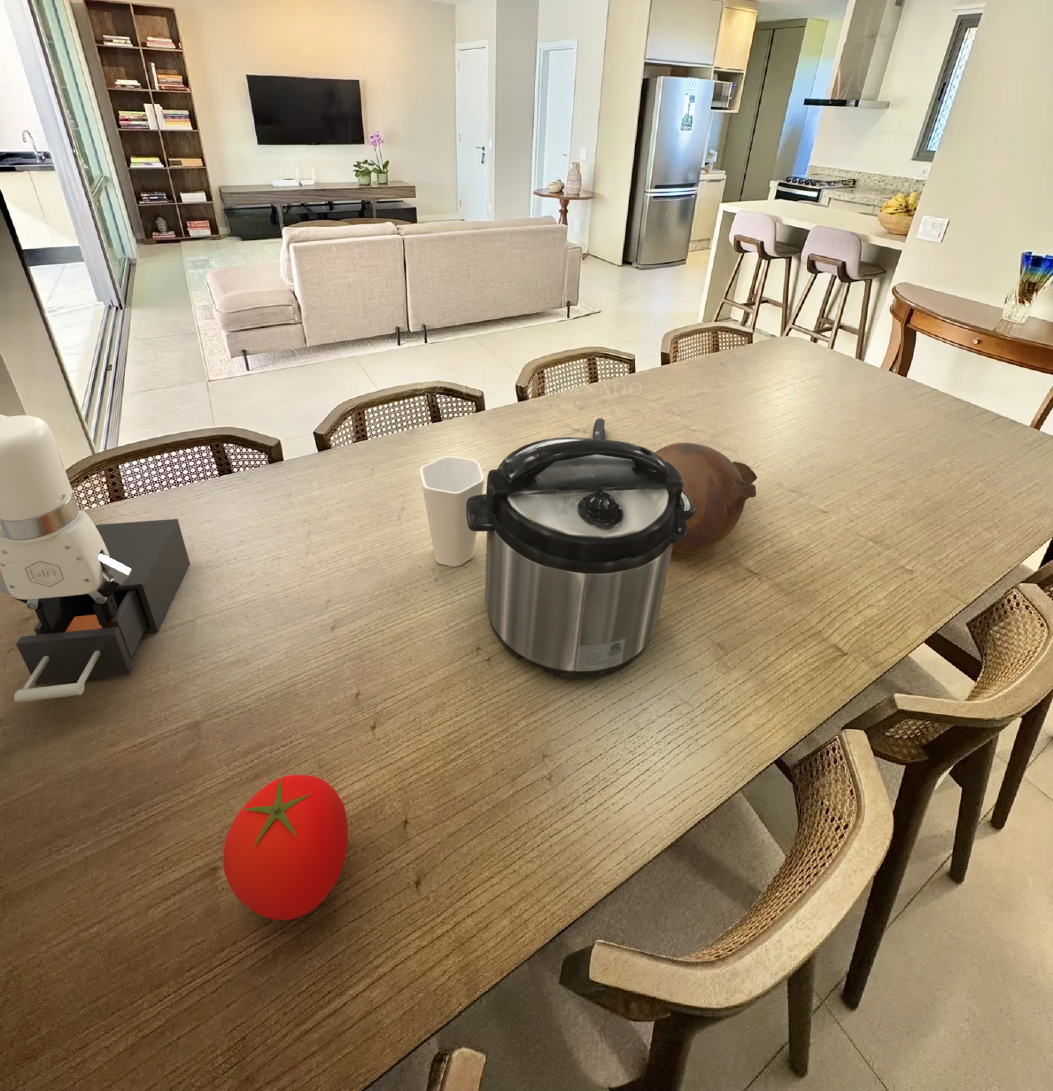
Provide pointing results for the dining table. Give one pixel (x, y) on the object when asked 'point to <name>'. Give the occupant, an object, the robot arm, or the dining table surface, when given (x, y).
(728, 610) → the dining table surface
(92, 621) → the block
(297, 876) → the tomato
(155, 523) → the dark grey cabinet
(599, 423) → the can opener
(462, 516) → the cup
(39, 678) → the drawer
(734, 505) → the jug
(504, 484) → the pressure cooker
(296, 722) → the dining table surface
